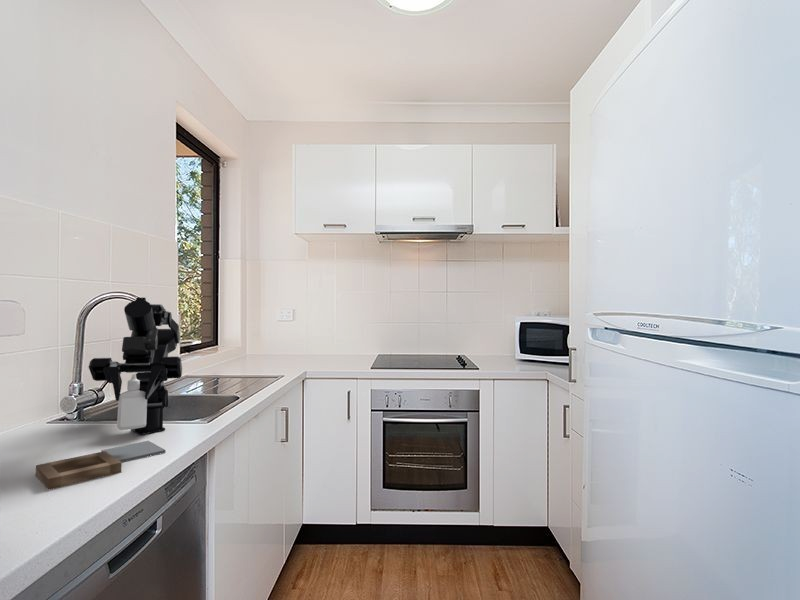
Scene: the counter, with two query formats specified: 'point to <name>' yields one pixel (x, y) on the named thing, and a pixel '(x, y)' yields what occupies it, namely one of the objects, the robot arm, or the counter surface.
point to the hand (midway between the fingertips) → (131, 399)
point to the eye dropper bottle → (132, 407)
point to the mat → (134, 451)
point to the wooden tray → (77, 469)
